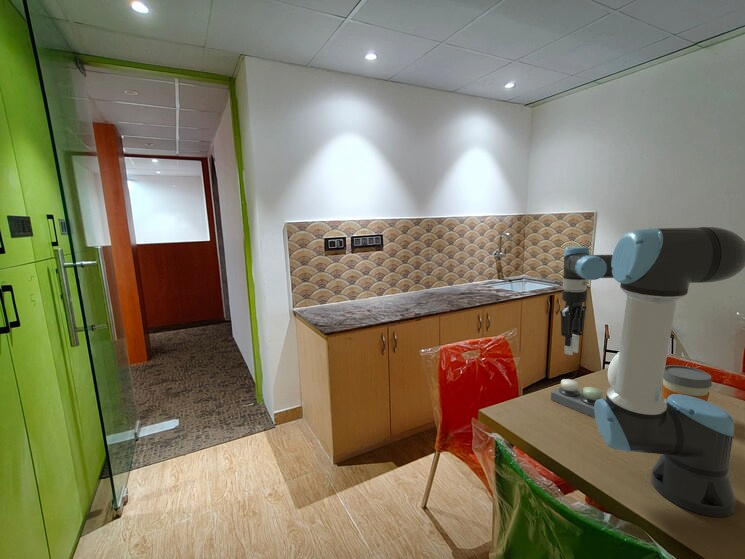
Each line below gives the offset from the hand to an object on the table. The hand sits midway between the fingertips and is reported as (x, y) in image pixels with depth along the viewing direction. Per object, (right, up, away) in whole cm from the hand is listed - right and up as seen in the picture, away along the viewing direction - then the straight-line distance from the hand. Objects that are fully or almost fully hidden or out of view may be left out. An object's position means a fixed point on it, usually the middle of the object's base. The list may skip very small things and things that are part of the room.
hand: (571, 352), depth 128 cm
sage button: (+5, -14, -5) cm, 16 cm away
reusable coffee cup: (+33, -19, -9) cm, 39 cm away
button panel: (+5, -19, -4) cm, 20 cm away
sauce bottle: (+24, -17, +9) cm, 30 cm away
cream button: (+1, -13, +2) cm, 14 cm away
